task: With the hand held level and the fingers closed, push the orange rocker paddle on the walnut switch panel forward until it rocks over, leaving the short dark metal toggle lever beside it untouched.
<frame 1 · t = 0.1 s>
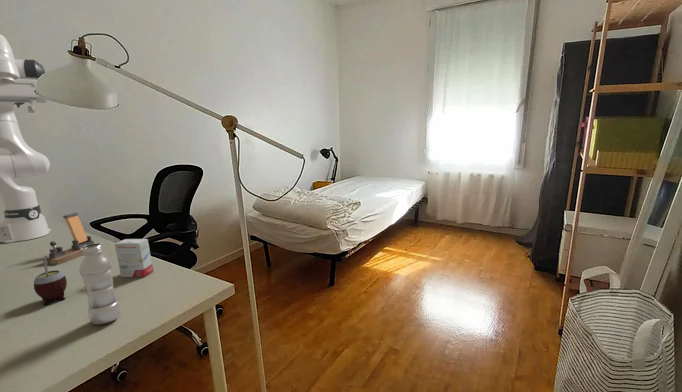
hand: (12, 112, 110), 54 cm above the table, tool tilted 30°, fingers open, 8 cm apart
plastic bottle: (106, 321, 84), on the table
ink box: (137, 274, 112), on the table
mate gourd: (55, 300, 96), on the table
toggle lever: (53, 245, 124), point 6 cm above the table, hinge at -15.0°
switch panel: (72, 255, 131), on the table
rocker paddle: (76, 228, 134), point 10 cm above the table, hinge at -15.0°
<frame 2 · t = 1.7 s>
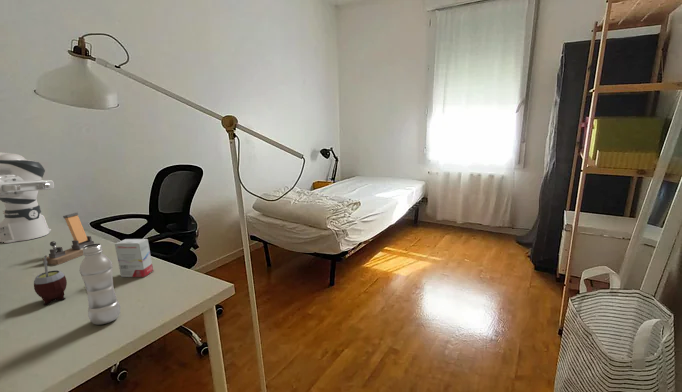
hand: (33, 186, 123), 28 cm above the table, tool horizontal, fingers open, 8 cm apart
nothing on the table moved.
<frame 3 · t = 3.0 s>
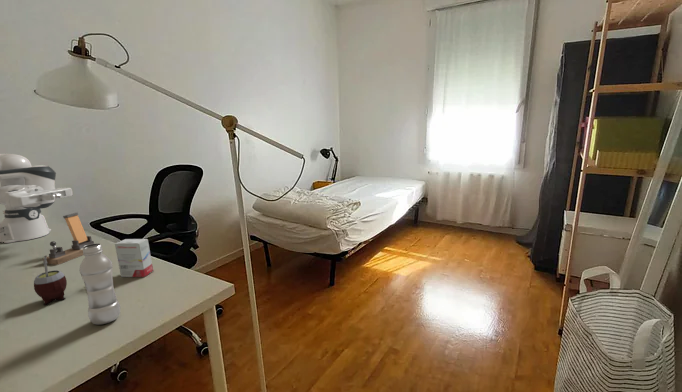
hand: (57, 196, 132), 23 cm above the table, tool horizontal, fingers closed
nothing on the table moved.
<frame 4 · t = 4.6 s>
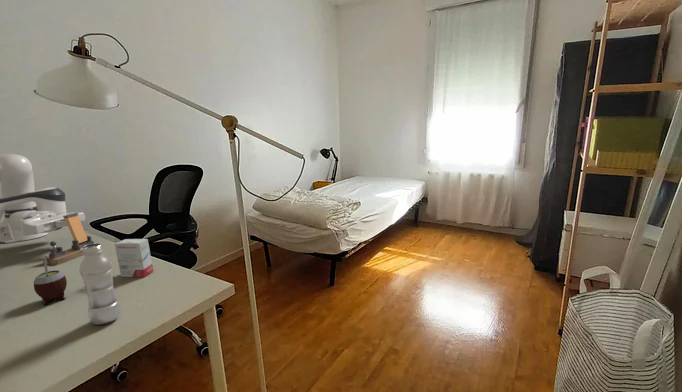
hand: (71, 223, 133), 12 cm above the table, tool horizontal, fingers closed, pressing on rocker paddle
rocker paddle: (76, 228, 134), point 10 cm above the table, hinge at -15.0°, touching gripper
everything else where it was.
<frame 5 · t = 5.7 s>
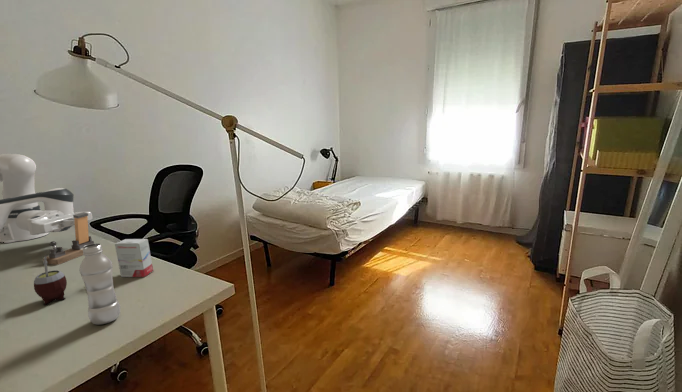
hand: (78, 222, 132), 12 cm above the table, tool horizontal, fingers closed, pressing on rocker paddle
rocker paddle: (81, 228, 133), point 10 cm above the table, hinge at 9.9°, touching gripper
everything else where it was.
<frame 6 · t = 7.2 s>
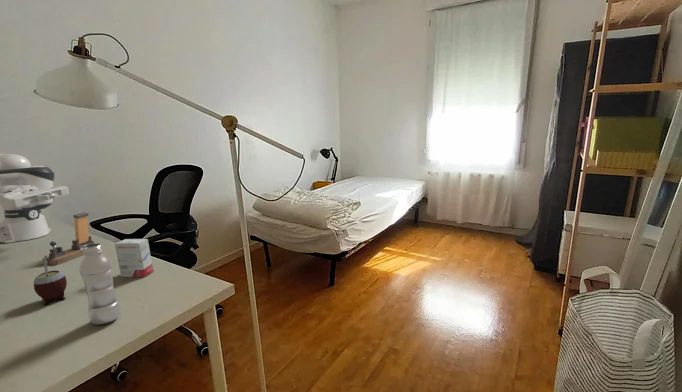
hand: (51, 196, 129), 23 cm above the table, tool horizontal, fingers closed
rocker paddle: (81, 228, 133), point 10 cm above the table, hinge at 10.0°
everything else where it was.
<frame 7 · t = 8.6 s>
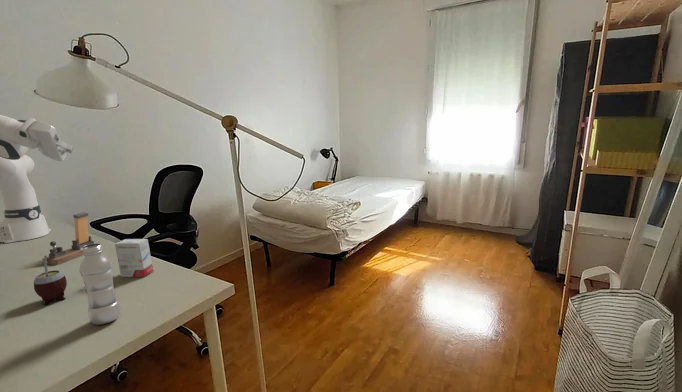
hand: (72, 149, 133), 41 cm above the table, tool tilted 65°, fingers closed
nothing on the table moved.
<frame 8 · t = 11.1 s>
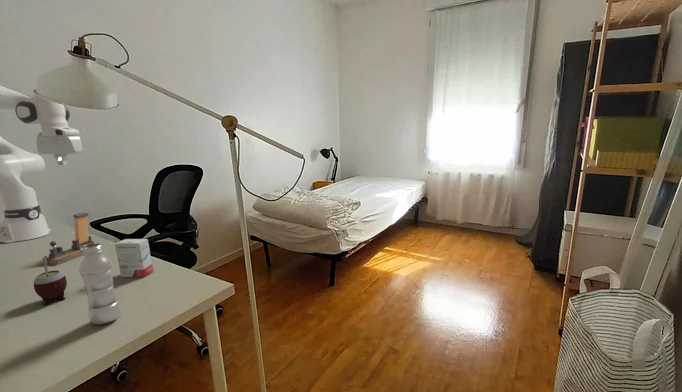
hand: (62, 164, 141), 34 cm above the table, tool pointing down, fingers closed
nothing on the table moved.
at the end: rocker paddle at +10° (first picture: -15°); toggle lever at -15° (first picture: -15°) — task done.
